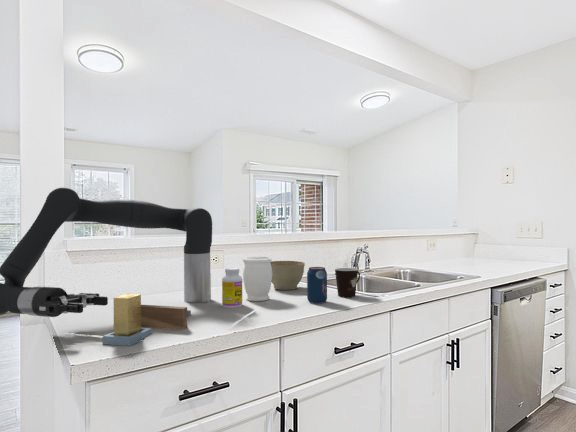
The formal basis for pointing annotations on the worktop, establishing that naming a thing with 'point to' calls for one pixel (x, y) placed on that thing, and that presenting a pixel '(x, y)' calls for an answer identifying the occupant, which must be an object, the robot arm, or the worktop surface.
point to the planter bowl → (286, 274)
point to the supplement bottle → (232, 288)
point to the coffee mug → (346, 281)
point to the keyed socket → (126, 338)
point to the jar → (257, 278)
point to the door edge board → (164, 317)
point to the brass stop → (127, 315)
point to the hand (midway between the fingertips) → (95, 304)
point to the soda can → (317, 285)
